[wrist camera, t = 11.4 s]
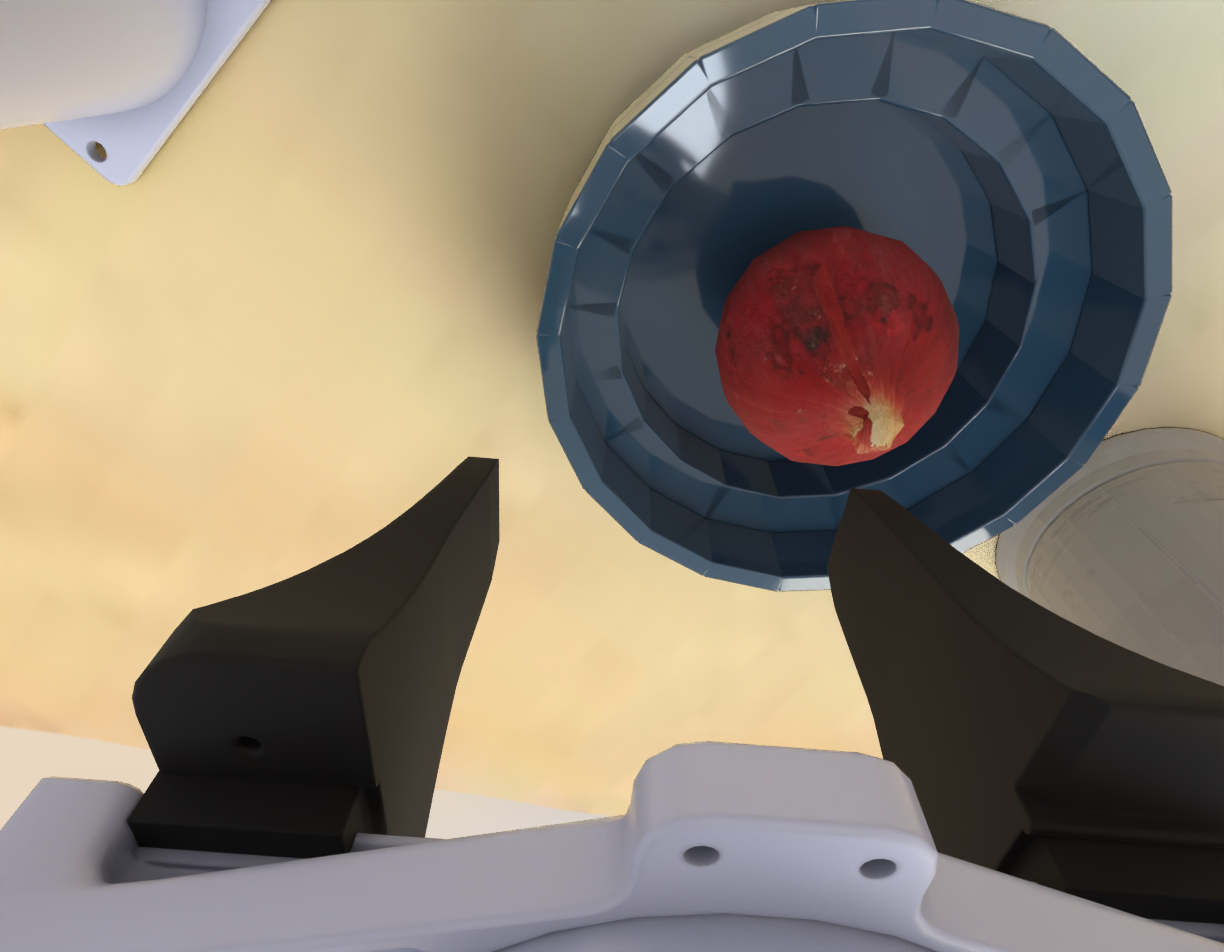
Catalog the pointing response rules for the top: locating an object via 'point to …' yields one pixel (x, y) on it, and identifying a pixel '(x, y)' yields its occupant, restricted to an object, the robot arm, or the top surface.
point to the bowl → (873, 202)
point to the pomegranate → (836, 345)
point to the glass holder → (1133, 548)
